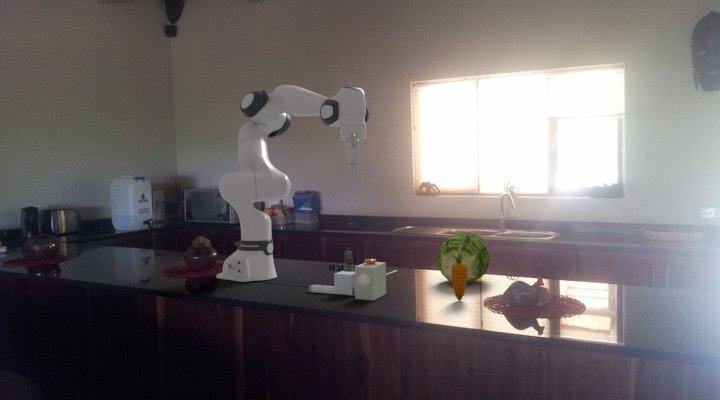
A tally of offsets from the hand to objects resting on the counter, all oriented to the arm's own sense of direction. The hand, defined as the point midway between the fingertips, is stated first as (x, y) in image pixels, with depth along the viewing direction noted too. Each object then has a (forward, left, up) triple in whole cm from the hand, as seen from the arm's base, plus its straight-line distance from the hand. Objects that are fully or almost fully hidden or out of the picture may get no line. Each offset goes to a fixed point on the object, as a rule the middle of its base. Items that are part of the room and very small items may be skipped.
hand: (353, 176), depth 201 cm
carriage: (+3, -14, -37) cm, 40 cm away
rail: (0, -14, -37) cm, 40 cm away
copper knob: (+12, -14, -31) cm, 36 cm away
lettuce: (+33, +16, -37) cm, 52 cm away
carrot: (+39, -10, -37) cm, 55 cm away
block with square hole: (+12, -14, -37) cm, 41 cm away
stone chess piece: (-5, +5, -37) cm, 38 cm away
